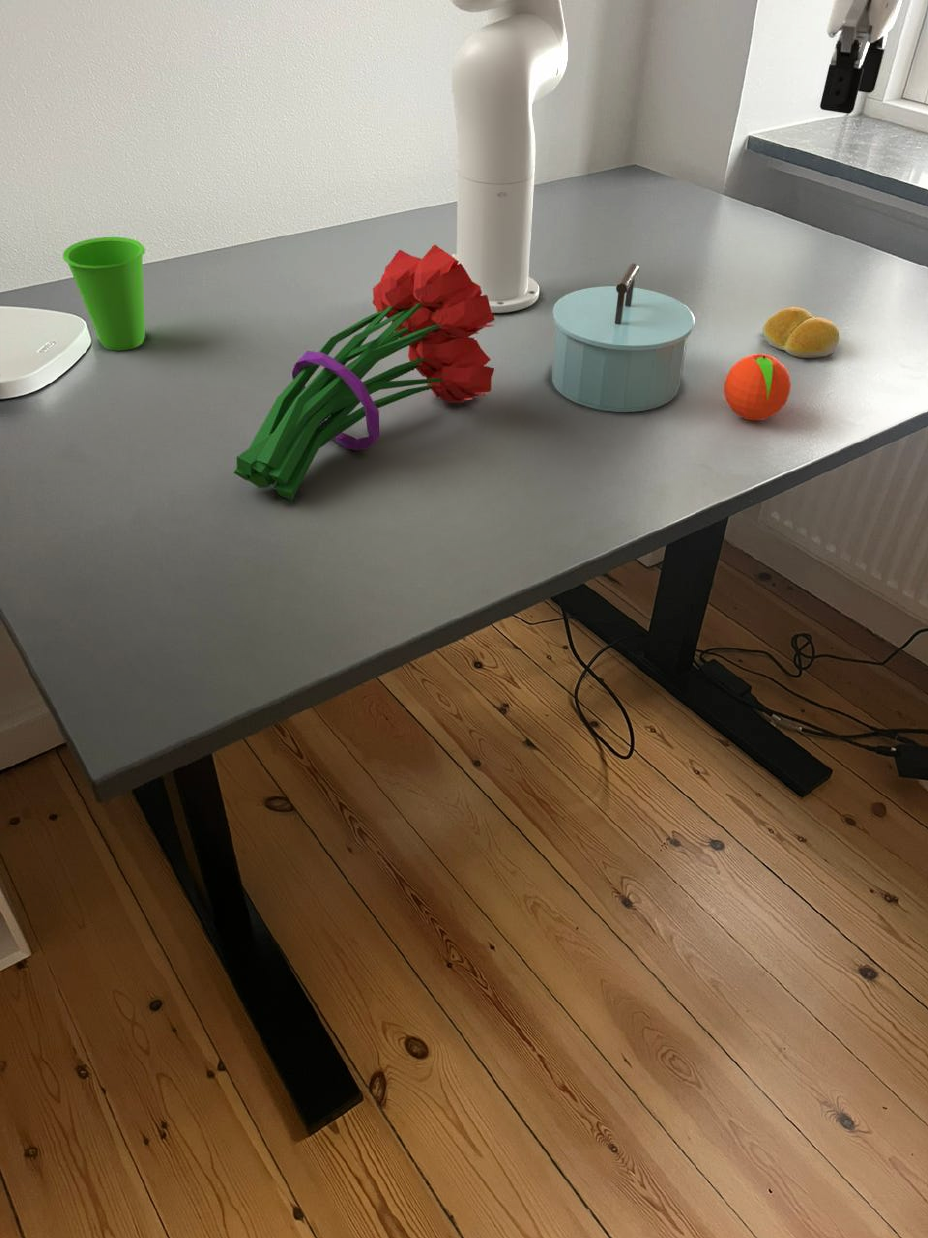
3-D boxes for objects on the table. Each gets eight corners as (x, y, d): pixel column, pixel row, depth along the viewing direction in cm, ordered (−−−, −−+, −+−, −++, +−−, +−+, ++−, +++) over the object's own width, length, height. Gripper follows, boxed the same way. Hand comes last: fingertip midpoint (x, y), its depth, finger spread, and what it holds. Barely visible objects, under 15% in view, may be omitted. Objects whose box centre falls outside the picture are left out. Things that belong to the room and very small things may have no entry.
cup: (176, 341, 123) (160, 250, 115) (110, 365, 117) (89, 272, 110) (134, 319, 127) (116, 230, 120) (69, 341, 122) (46, 250, 115)
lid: (534, 341, 109) (538, 289, 105) (572, 287, 120) (576, 238, 116) (678, 366, 105) (688, 312, 101) (703, 308, 116) (712, 258, 112)
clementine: (791, 437, 108) (807, 376, 103) (726, 436, 108) (739, 375, 103) (775, 401, 114) (789, 342, 109) (713, 399, 114) (725, 340, 109)
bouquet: (225, 519, 105) (407, 363, 119) (340, 581, 98) (521, 407, 111) (159, 362, 90) (377, 204, 104) (290, 421, 82) (506, 242, 96)
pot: (536, 398, 113) (540, 335, 108) (570, 344, 124) (575, 284, 119) (665, 422, 110) (675, 358, 105) (688, 364, 120) (699, 303, 116)
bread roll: (811, 366, 120) (820, 335, 118) (750, 340, 126) (757, 310, 123) (851, 347, 125) (859, 316, 122) (790, 323, 130) (797, 292, 127)
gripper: (875, -115, 100) (830, 78, 111) (834, -100, 88) (788, 113, 99) (955, -109, 97) (900, 88, 108) (923, -93, 85) (866, 125, 97)
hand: (847, 100), depth 104 cm, fingers open, 9 cm apart
